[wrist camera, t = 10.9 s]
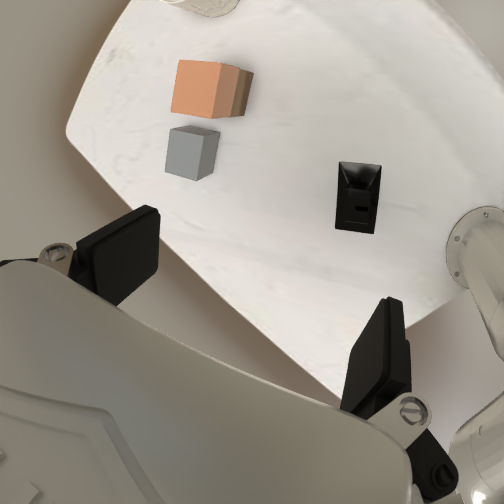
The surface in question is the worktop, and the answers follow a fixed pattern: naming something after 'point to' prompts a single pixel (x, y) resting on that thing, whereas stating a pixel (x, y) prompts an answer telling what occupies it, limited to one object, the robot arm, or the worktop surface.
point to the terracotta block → (204, 89)
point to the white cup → (204, 6)
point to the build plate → (357, 196)
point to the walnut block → (241, 93)
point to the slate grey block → (191, 152)
